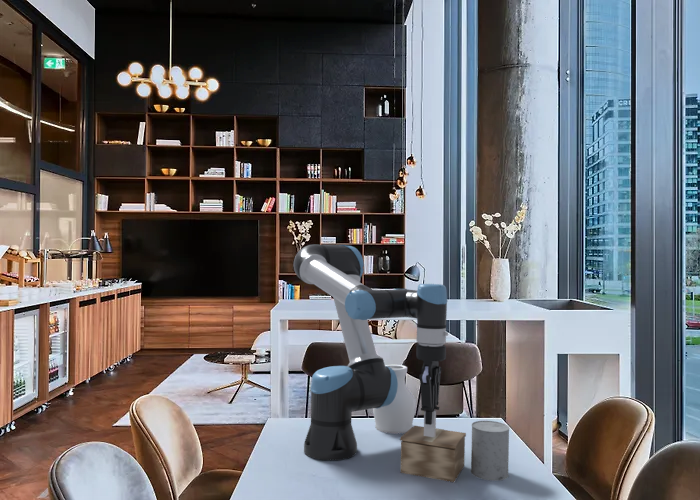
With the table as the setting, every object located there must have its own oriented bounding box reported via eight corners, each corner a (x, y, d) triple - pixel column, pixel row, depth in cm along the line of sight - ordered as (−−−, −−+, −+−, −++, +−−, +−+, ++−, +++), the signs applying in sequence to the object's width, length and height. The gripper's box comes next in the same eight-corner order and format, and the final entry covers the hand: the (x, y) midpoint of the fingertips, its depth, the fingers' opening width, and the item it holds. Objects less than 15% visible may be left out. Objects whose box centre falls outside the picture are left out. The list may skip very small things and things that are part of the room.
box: (400, 472, 144) (401, 441, 144) (414, 457, 155) (414, 428, 155) (454, 482, 138) (454, 450, 138) (464, 466, 149) (464, 436, 149)
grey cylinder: (510, 482, 139) (510, 433, 139) (471, 478, 141) (471, 430, 141) (507, 468, 148) (507, 422, 149) (470, 465, 150) (471, 419, 150)
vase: (424, 428, 182) (425, 367, 182) (397, 438, 172) (398, 373, 172) (390, 418, 192) (391, 360, 192) (362, 427, 181) (364, 366, 182)
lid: (400, 440, 144) (400, 436, 144) (414, 428, 155) (414, 425, 155) (455, 449, 138) (455, 445, 138) (465, 436, 150) (465, 432, 150)
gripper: (439, 348, 136) (437, 445, 136) (451, 341, 148) (450, 430, 148) (409, 346, 139) (407, 441, 139) (424, 339, 151) (422, 426, 151)
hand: (429, 435), depth 143 cm, fingers closed
